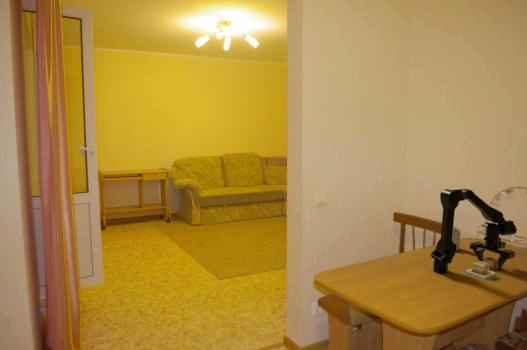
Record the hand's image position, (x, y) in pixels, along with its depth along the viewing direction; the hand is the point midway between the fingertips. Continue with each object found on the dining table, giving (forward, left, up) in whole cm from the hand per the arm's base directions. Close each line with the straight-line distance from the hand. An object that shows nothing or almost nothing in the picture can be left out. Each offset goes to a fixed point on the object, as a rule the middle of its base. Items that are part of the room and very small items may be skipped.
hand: (490, 267), depth 186 cm
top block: (0, 0, -1) cm, 1 cm away
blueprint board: (-12, -2, -1) cm, 12 cm away
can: (+12, +28, -1) cm, 30 cm away
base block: (-12, -2, 0) cm, 12 cm away
